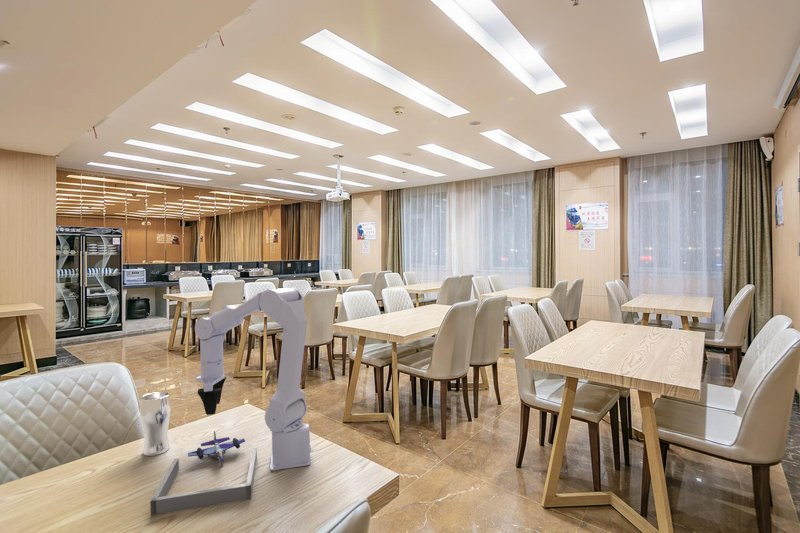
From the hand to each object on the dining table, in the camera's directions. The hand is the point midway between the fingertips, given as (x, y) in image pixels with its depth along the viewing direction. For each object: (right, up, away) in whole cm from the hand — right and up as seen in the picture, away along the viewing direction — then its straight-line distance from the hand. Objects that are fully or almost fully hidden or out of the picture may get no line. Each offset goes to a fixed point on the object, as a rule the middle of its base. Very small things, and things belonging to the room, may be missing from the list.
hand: (213, 408), depth 109 cm
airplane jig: (+8, -10, -19) cm, 23 cm away
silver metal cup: (-14, -10, -3) cm, 18 cm away
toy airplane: (+5, -11, -8) cm, 14 cm away
